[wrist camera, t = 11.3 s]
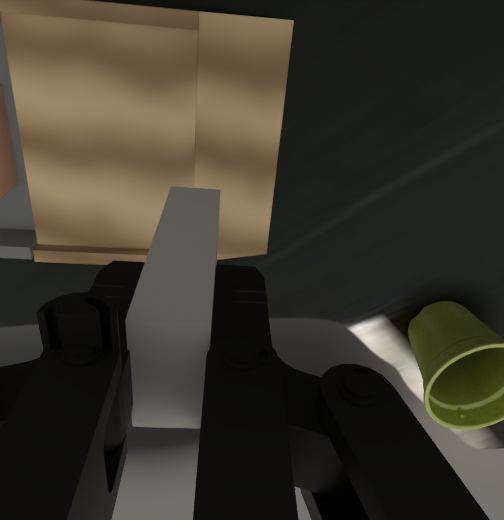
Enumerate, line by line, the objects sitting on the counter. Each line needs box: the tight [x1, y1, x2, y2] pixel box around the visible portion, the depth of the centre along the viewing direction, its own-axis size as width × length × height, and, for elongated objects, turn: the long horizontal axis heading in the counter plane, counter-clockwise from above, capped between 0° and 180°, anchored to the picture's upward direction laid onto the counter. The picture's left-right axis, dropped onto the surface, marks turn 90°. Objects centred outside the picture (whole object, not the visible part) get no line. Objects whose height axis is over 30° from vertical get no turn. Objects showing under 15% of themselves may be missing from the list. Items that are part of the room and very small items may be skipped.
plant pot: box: [408, 301, 504, 430], centre depth 41 cm, size 9×9×9 cm
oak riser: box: [0, 0, 294, 265], centre depth 33 cm, size 18×19×4 cm
